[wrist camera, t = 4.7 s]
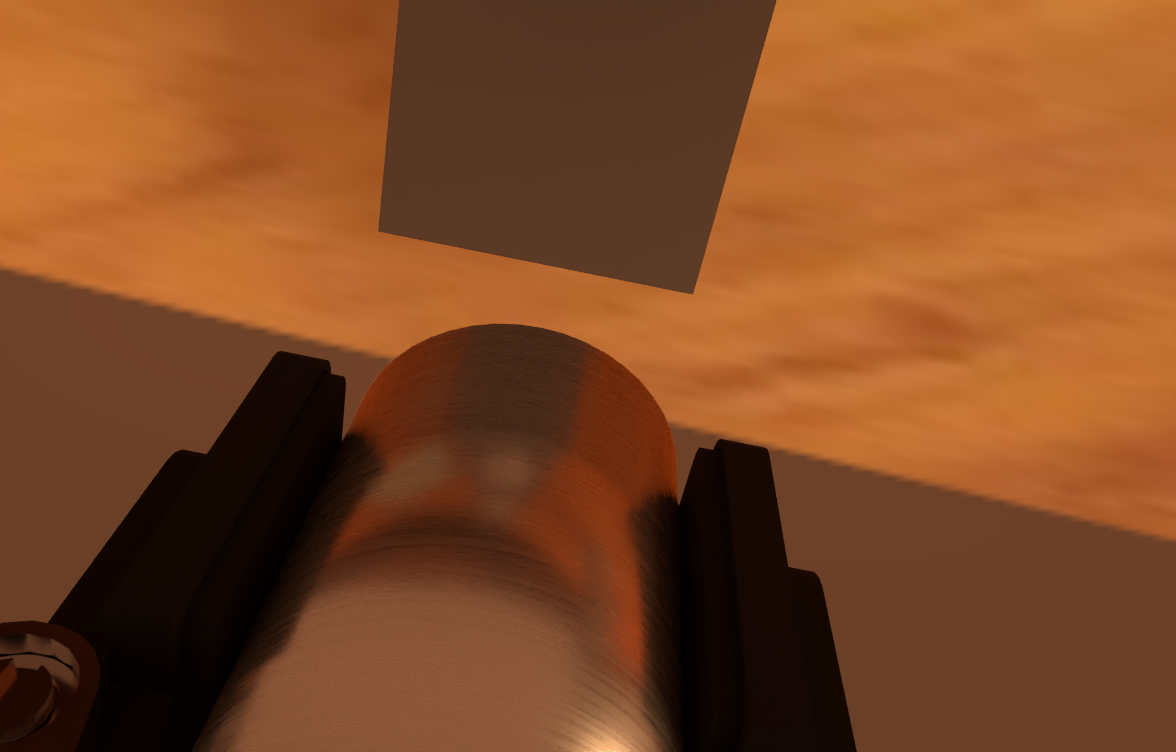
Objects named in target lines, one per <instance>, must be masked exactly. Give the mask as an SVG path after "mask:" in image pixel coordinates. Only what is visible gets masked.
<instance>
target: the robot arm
mask: <svg viewBox="0 0 1176 752" xmlns="http://www.w3.org/2000/svg"><path fill="white" fill-rule="evenodd" d="M345 389H346V381H345V377H344V376H339V375H334V374H331V367H330V363H329V361H328V360H324V359H319V358H314V357H308V356H304V355H299V354H293V353H289V352H283V351H279V352H277V353H276V354H275V355H274V356H273V358H272V360H271V361H270V362H269V364H268V365H267V367H266V368H265V370H264V371H263V373H262V374H261V376H260V377H259V379H258V380H257V381H256V383H255V384H254V386H253V387H252V389H251V390H250V392H249V393H248V395H247V396H246V398H245V399H244V401H243V402H242V404H241V405H240V406H239V408H238V409H237V411H236V412H235V414H234V415H233V417H232V418H231V420H230V421H229V423H228V424H227V425H226V427H225V428H224V430H223V431H222V433H221V434H220V436H219V437H218V439H217V440H216V442H215V443H214V445H213V446H212V447H211V449H210V450H209V452H208V453H207V454H203V453H198V452H192V451H187V450H180V451H177V452H175V453H174V454H173V455H172V456H171V457H170V458H169V459H168V460H167V461H166V463H165V464H164V465H163V467H162V468H161V470H160V471H159V472H158V474H157V475H156V476H155V477H154V479H153V480H152V482H151V483H150V484H149V486H148V487H147V489H146V490H145V491H144V492H143V494H142V495H141V497H140V498H139V499H138V501H137V502H136V503H135V505H134V506H133V507H132V509H131V510H130V512H129V513H128V515H127V516H126V517H125V518H124V520H123V521H122V523H121V524H120V525H119V527H118V528H117V529H116V531H115V532H114V534H113V535H112V536H111V537H110V539H109V540H108V541H107V543H106V544H105V546H104V547H103V548H102V550H101V551H100V552H99V554H98V555H97V556H96V558H95V559H94V561H93V562H92V564H91V565H90V566H89V567H88V569H87V570H86V572H85V573H84V574H83V576H82V577H81V578H80V580H79V581H78V582H77V584H76V585H75V586H74V588H73V589H72V590H71V592H70V593H69V595H68V596H67V597H66V599H65V600H64V601H63V603H62V604H61V605H60V607H59V608H58V610H57V611H56V612H55V614H54V615H53V616H52V618H51V619H50V620H49V622H48V623H45V622H39V621H18V622H3V623H0V752H191V750H192V748H193V746H194V744H195V742H196V740H197V738H198V736H199V734H200V732H201V730H202V728H203V726H204V723H205V721H206V719H207V717H208V715H209V713H210V711H211V709H212V707H213V705H214V703H215V701H216V699H217V697H218V695H219V693H220V691H221V689H222V687H223V684H224V682H225V680H226V678H227V676H228V674H229V672H230V670H231V668H232V666H233V664H234V662H235V660H236V658H237V656H238V654H239V652H240V650H241V648H242V645H243V643H244V641H245V639H246V637H247V635H248V633H249V631H250V629H251V627H252V625H253V623H254V621H255V619H256V617H257V615H258V613H259V611H260V609H261V606H262V604H263V602H264V600H265V598H266V596H267V594H268V592H269V590H270V588H271V586H272V584H273V582H274V580H275V578H276V576H277V574H278V572H279V570H280V567H281V565H282V563H283V561H284V559H285V557H286V555H287V553H288V551H289V549H290V547H291V545H292V543H293V541H294V539H295V537H296V535H297V533H298V531H299V528H300V526H301V524H302V522H303V520H304V518H305V516H306V514H307V512H308V510H309V508H310V506H311V504H312V502H313V500H314V498H315V496H316V494H317V491H318V489H319V487H320V485H321V483H322V481H323V479H324V477H325V475H326V473H327V471H328V469H329V467H330V465H331V463H332V461H333V459H334V457H335V455H336V452H337V450H338V448H339V446H340V444H341V442H342V429H343V417H344V404H345ZM679 541H680V574H681V608H682V641H683V675H684V708H685V742H686V752H857V751H856V747H855V741H854V736H853V732H852V727H851V722H850V717H849V712H848V708H847V703H846V698H845V693H844V688H843V683H842V679H841V674H840V669H839V664H838V659H837V655H836V650H835V645H834V640H833V635H832V631H831V626H830V621H829V616H828V611H827V606H826V602H825V597H824V592H823V587H822V584H821V582H820V579H819V577H818V576H817V575H816V573H815V572H811V571H806V570H801V569H796V568H790V567H788V563H787V557H786V551H785V545H784V539H783V533H782V527H781V521H780V515H779V509H778V503H777V498H776V492H775V486H774V480H773V474H772V468H771V462H770V456H769V453H768V450H767V449H766V448H764V447H758V446H754V445H749V444H744V443H739V442H734V441H729V440H724V439H719V440H718V441H717V443H716V445H715V447H714V449H713V450H710V449H705V448H699V449H698V451H697V453H696V455H695V458H694V461H693V464H692V467H691V470H690V473H689V476H688V480H687V483H686V486H685V489H684V492H683V495H682V498H681V502H680V505H679Z"/></svg>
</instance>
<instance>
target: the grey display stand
mask: <svg viewBox="0 0 1176 752" xmlns="http://www.w3.org/2000/svg"><path fill="white" fill-rule="evenodd" d="M775 4H776V0H400V1H399V12H398V23H397V34H396V45H395V56H394V67H393V78H392V89H391V100H390V110H389V121H388V132H387V143H386V154H385V165H384V176H383V187H382V198H381V209H380V220H379V230H378V231H379V232H384V233H389V234H394V235H399V236H404V237H409V238H414V239H419V240H424V241H429V242H434V243H439V244H444V245H449V246H454V247H459V248H464V249H469V250H474V251H479V252H484V253H489V254H494V255H499V256H504V257H509V258H514V259H519V260H524V261H529V262H534V263H539V264H544V265H549V266H554V267H559V268H564V269H569V270H574V271H579V272H584V273H589V274H594V275H599V276H604V277H609V278H614V279H619V280H624V281H629V282H633V283H638V284H643V285H648V286H653V287H658V288H663V289H668V290H673V291H678V292H683V293H688V294H693V292H694V289H695V285H696V282H697V278H698V275H699V271H700V268H701V264H702V261H703V257H704V254H705V250H706V246H707V243H708V239H709V236H710V232H711V229H712V225H713V222H714V218H715V215H716V211H717V208H718V204H719V201H720V197H721V194H722V190H723V187H724V183H725V180H726V176H727V173H728V169H729V166H730V162H731V159H732V155H733V151H734V148H735V144H736V141H737V137H738V134H739V130H740V127H741V123H742V120H743V116H744V113H745V109H746V106H747V102H748V99H749V95H750V92H751V88H752V85H753V81H754V78H755V74H756V71H757V67H758V64H759V60H760V57H761V53H762V49H763V46H764V42H765V39H766V35H767V32H768V28H769V25H770V21H771V18H772V14H773V11H774V7H775Z"/></svg>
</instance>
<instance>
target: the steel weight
mask: <svg viewBox="0 0 1176 752" xmlns="http://www.w3.org/2000/svg"><path fill="white" fill-rule="evenodd" d="M191 752H686V742H685V708H684V675H683V641H682V608H681V574H680V541H679V507H678V475H677V458H676V448H675V444H674V441H673V437H672V433H671V429H670V427H669V425H668V423H667V420H666V418H665V416H664V413H663V412H662V410H661V408H660V407H659V405H658V404H657V402H656V400H655V399H654V397H653V396H652V394H651V393H650V392H649V391H648V390H647V389H646V387H645V386H644V385H643V384H642V383H641V381H640V380H639V379H638V378H637V377H635V376H634V375H633V374H632V373H631V372H630V371H629V370H628V369H627V368H626V367H624V366H623V365H622V364H620V363H619V362H618V361H616V360H615V359H613V358H612V357H610V356H609V355H608V354H606V353H605V352H603V351H601V350H599V349H597V348H595V347H593V346H591V345H590V344H588V343H586V342H583V341H581V340H578V339H576V338H573V337H571V336H568V335H566V334H563V333H559V332H555V331H551V330H547V329H544V328H539V327H532V326H525V325H518V324H487V325H476V326H469V327H464V328H460V329H455V330H450V331H448V332H445V333H442V334H439V335H436V336H433V337H430V338H428V339H426V340H424V341H422V342H420V343H418V344H416V345H414V346H412V347H411V348H409V349H408V350H406V351H405V352H404V353H402V354H401V355H399V356H398V357H396V358H395V359H394V360H393V361H392V362H391V363H390V364H389V365H388V366H387V367H385V368H384V369H383V370H382V371H381V372H380V374H379V375H378V376H377V378H376V379H375V380H374V382H373V383H372V384H371V385H370V387H369V388H368V390H367V392H366V394H365V396H364V398H363V400H362V401H361V403H360V405H359V408H358V409H357V412H356V413H355V416H354V418H353V420H352V422H351V424H350V426H349V428H348V430H347V432H346V434H345V436H344V438H343V440H342V442H341V444H340V446H339V448H338V450H337V452H336V455H335V457H334V459H333V461H332V463H331V465H330V467H329V469H328V471H327V473H326V475H325V477H324V479H323V481H322V483H321V485H320V487H319V489H318V491H317V494H316V496H315V498H314V500H313V502H312V504H311V506H310V508H309V510H308V512H307V514H306V516H305V518H304V520H303V522H302V524H301V526H300V528H299V531H298V533H297V535H296V537H295V539H294V541H293V543H292V545H291V547H290V549H289V551H288V553H287V555H286V557H285V559H284V561H283V563H282V565H281V567H280V570H279V572H278V574H277V576H276V578H275V580H274V582H273V584H272V586H271V588H270V590H269V592H268V594H267V596H266V598H265V600H264V602H263V604H262V606H261V609H260V611H259V613H258V615H257V617H256V619H255V621H254V623H253V625H252V627H251V629H250V631H249V633H248V635H247V637H246V639H245V641H244V643H243V645H242V648H241V650H240V652H239V654H238V656H237V658H236V660H235V662H234V664H233V666H232V668H231V670H230V672H229V674H228V676H227V678H226V680H225V682H224V684H223V687H222V689H221V691H220V693H219V695H218V697H217V699H216V701H215V703H214V705H213V707H212V709H211V711H210V713H209V715H208V717H207V719H206V721H205V723H204V726H203V728H202V730H201V732H200V734H199V736H198V738H197V740H196V742H195V744H194V746H193V748H192V750H191Z"/></svg>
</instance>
